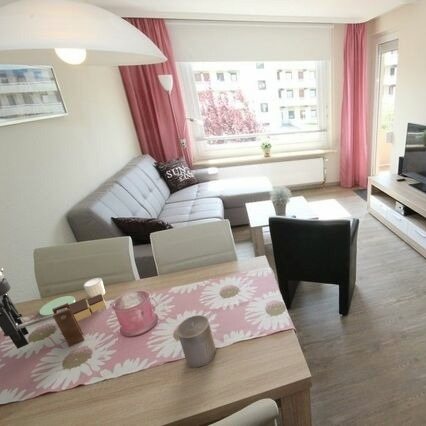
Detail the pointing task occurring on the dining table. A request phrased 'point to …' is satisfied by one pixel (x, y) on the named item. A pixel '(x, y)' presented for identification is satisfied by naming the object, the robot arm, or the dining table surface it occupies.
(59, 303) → the plate
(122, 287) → the dining table surface
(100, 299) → the cake slice
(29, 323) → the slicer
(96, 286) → the white ribbed ramekin
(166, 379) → the dining table surface
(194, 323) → the pillar candle
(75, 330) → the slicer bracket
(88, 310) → the cake
